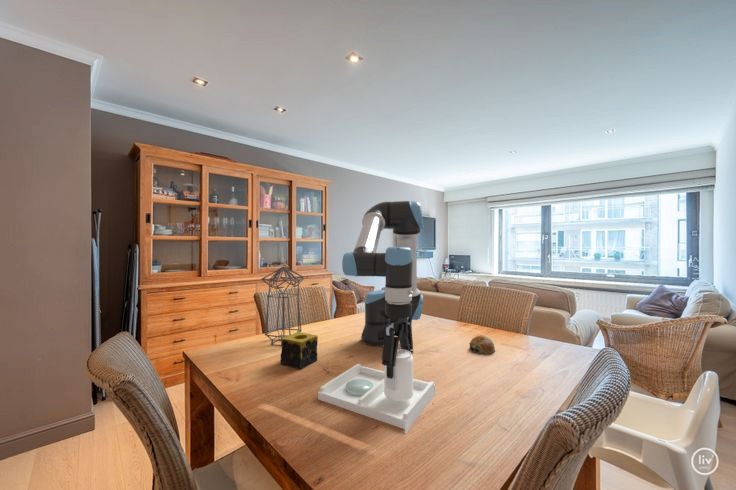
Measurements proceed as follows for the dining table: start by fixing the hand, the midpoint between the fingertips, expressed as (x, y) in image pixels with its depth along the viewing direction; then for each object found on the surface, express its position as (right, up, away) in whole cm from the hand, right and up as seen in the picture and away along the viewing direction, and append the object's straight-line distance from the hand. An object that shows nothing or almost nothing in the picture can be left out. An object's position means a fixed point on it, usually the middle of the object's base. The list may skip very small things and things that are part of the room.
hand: (398, 382), depth 85 cm
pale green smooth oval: (-11, -5, +7) cm, 14 cm away
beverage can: (0, -4, 0) cm, 4 cm away
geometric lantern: (-47, -6, +54) cm, 72 cm away
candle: (-35, -7, +30) cm, 47 cm away
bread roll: (+40, -7, +44) cm, 60 cm away
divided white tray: (-6, -6, +3) cm, 9 cm away
